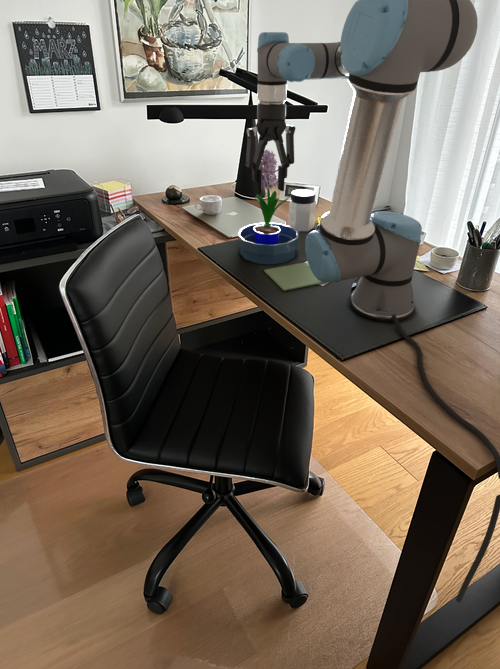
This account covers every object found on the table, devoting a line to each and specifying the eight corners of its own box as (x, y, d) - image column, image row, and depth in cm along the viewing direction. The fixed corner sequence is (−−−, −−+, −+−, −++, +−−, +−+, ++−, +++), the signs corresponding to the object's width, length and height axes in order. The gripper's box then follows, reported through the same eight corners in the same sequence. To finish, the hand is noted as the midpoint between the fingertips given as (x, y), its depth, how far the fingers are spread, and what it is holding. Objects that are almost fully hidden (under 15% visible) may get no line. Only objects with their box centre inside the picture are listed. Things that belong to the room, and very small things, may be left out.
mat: (326, 282, 129) (327, 281, 129) (284, 291, 125) (284, 289, 125) (304, 263, 139) (304, 262, 139) (264, 271, 135) (264, 269, 135)
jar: (284, 225, 166) (285, 190, 159) (303, 221, 169) (306, 187, 162) (298, 233, 159) (300, 198, 152) (318, 229, 162) (321, 194, 156)
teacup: (218, 208, 180) (217, 194, 177) (224, 214, 174) (224, 200, 172) (192, 211, 177) (191, 197, 174) (198, 218, 171) (197, 203, 168)
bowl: (307, 259, 142) (309, 239, 139) (252, 269, 136) (252, 249, 133) (281, 237, 156) (282, 219, 153) (230, 246, 150) (229, 227, 147)
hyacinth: (282, 259, 142) (291, 154, 126) (248, 255, 143) (253, 151, 127) (286, 248, 149) (295, 148, 133) (254, 245, 150) (259, 145, 134)
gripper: (298, 98, 129) (293, 184, 142) (231, 102, 123) (233, 191, 135) (311, 102, 123) (305, 190, 136) (242, 106, 117) (242, 199, 130)
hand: (269, 191), depth 136 cm, fingers open, 6 cm apart
